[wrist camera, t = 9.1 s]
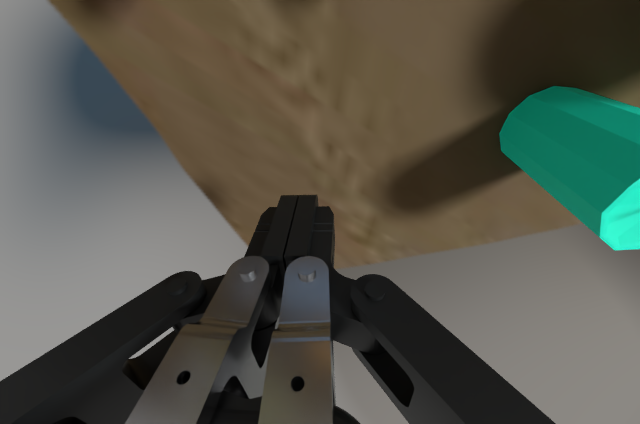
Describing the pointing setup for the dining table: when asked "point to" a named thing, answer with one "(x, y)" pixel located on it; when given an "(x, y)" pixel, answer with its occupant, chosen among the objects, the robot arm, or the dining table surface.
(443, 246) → the dining table surface
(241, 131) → the dining table surface
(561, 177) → the candle
